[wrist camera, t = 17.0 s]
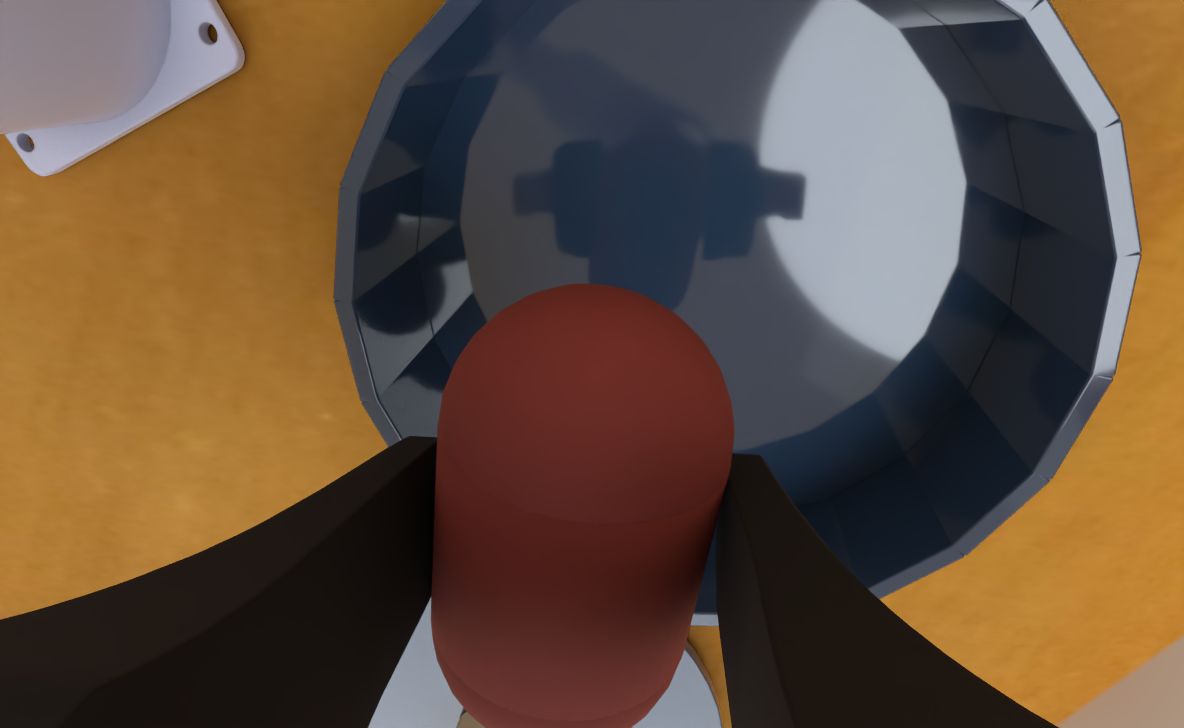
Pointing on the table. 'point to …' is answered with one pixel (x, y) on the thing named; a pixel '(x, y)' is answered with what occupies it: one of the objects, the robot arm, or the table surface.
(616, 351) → the sweet potato
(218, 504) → the table surface
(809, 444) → the dark blue bowl
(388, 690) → the lid
